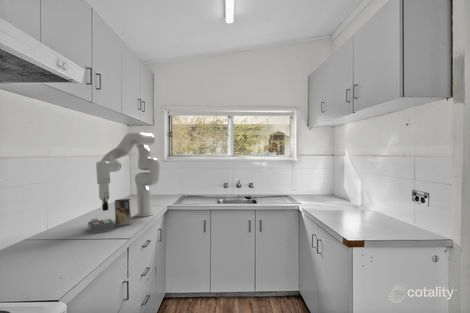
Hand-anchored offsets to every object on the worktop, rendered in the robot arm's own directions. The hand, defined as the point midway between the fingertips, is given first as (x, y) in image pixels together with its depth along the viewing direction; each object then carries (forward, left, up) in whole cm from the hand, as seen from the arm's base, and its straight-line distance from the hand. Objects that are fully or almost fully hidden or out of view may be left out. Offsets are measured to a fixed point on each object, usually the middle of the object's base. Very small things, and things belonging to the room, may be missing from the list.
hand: (105, 210), depth 195 cm
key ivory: (0, 0, -9) cm, 9 cm away
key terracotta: (+6, -7, -9) cm, 13 cm away
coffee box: (-3, +11, -11) cm, 16 cm away
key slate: (0, -7, -8) cm, 10 cm away
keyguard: (+3, -4, -11) cm, 12 cm away
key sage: (+6, 0, -9) cm, 11 cm away
